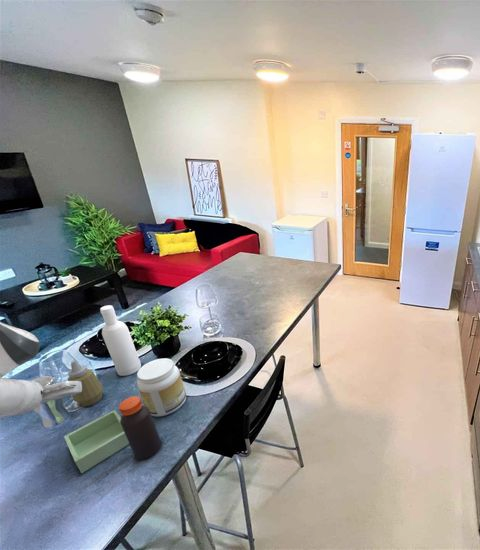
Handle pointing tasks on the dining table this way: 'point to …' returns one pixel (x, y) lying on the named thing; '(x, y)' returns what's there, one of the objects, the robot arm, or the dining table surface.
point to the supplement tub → (161, 387)
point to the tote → (96, 441)
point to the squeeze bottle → (85, 385)
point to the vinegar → (139, 428)
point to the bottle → (119, 343)
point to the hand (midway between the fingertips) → (46, 398)
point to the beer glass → (50, 407)
